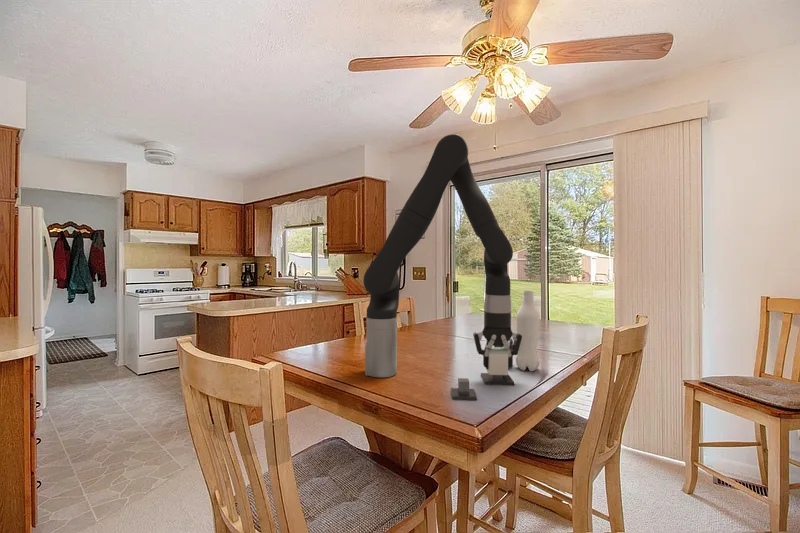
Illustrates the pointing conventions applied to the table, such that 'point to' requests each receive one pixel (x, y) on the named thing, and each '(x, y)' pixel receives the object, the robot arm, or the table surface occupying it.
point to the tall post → (497, 379)
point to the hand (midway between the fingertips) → (496, 368)
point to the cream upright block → (498, 361)
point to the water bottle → (528, 333)
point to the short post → (463, 391)
